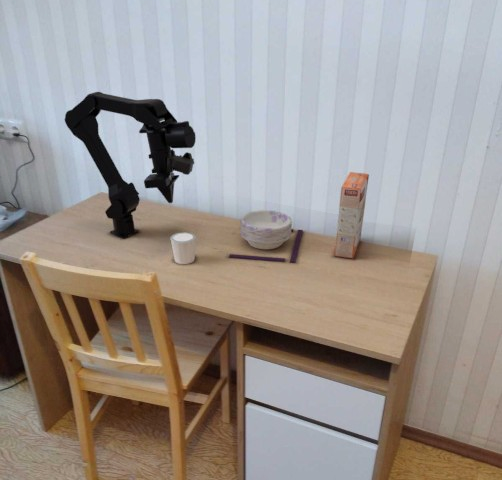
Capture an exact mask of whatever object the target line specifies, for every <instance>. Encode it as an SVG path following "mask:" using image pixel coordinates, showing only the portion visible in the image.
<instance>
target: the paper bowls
mask: <svg viewBox="0 0 502 480" xmlns="http://www.w3.org/2000/svg"><path fill="white" fill-rule="evenodd" d="M292 225H293V220H292V218H291V217H290V216H289V215H288V214H286V213H283V212H281V211H275V210H265V209H262V210H261V209H260V210H253V211H249V212H246V213H244V214H243V215H242V216H241V217H240V220H239V232H240V233H239V234H240V236H241V237H242V238H243V240H246V241H247V243H248V244H249V245H250V246H251V247H253V248H255V249H259V250H273V249H277V248H279V247H281V246H282V245H283V244H284V243H285V242H286V241H289V239H291V237H292V232H291V229H292Z"/></svg>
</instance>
